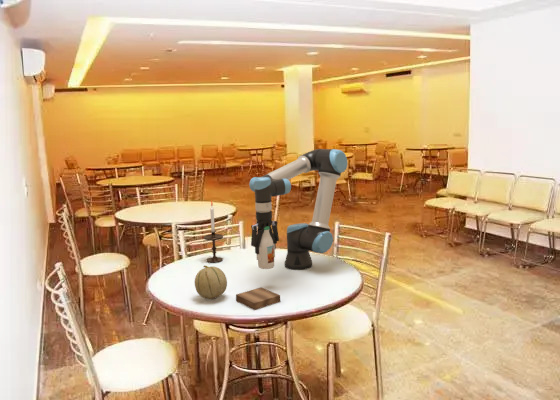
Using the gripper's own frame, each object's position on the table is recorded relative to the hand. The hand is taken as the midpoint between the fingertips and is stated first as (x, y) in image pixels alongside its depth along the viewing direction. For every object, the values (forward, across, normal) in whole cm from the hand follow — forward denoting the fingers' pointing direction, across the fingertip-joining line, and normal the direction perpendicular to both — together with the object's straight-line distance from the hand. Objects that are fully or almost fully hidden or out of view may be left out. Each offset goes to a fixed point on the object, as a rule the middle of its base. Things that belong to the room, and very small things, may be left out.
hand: (266, 258), depth 233 cm
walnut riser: (+14, -14, -11) cm, 23 cm away
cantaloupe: (+15, -26, +7) cm, 31 cm away
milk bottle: (+4, 0, 0) cm, 4 cm away
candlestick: (+15, +6, +57) cm, 59 cm away
